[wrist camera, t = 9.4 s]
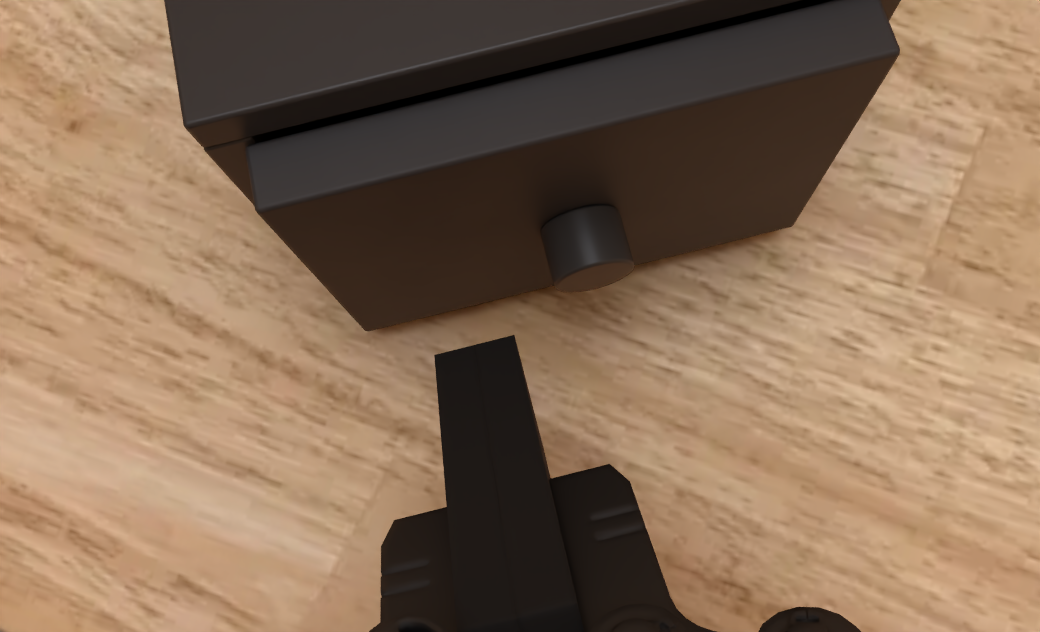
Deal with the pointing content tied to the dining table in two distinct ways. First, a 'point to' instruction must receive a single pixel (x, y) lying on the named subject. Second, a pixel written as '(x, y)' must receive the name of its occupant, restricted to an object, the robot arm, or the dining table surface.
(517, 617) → the robot arm
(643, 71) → the drawer
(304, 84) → the cabinet
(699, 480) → the dining table surface
